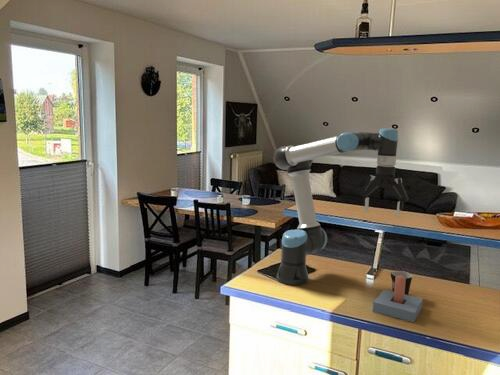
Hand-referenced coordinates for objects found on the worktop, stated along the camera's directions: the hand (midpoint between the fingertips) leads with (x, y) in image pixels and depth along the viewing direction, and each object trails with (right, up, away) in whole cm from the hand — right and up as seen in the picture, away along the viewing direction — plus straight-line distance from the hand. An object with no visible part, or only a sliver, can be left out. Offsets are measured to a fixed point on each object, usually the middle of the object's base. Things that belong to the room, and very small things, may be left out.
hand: (381, 214), depth 181 cm
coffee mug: (+10, -36, +8) cm, 39 cm away
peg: (+4, -39, -8) cm, 40 cm away
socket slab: (+4, -39, -8) cm, 40 cm away
